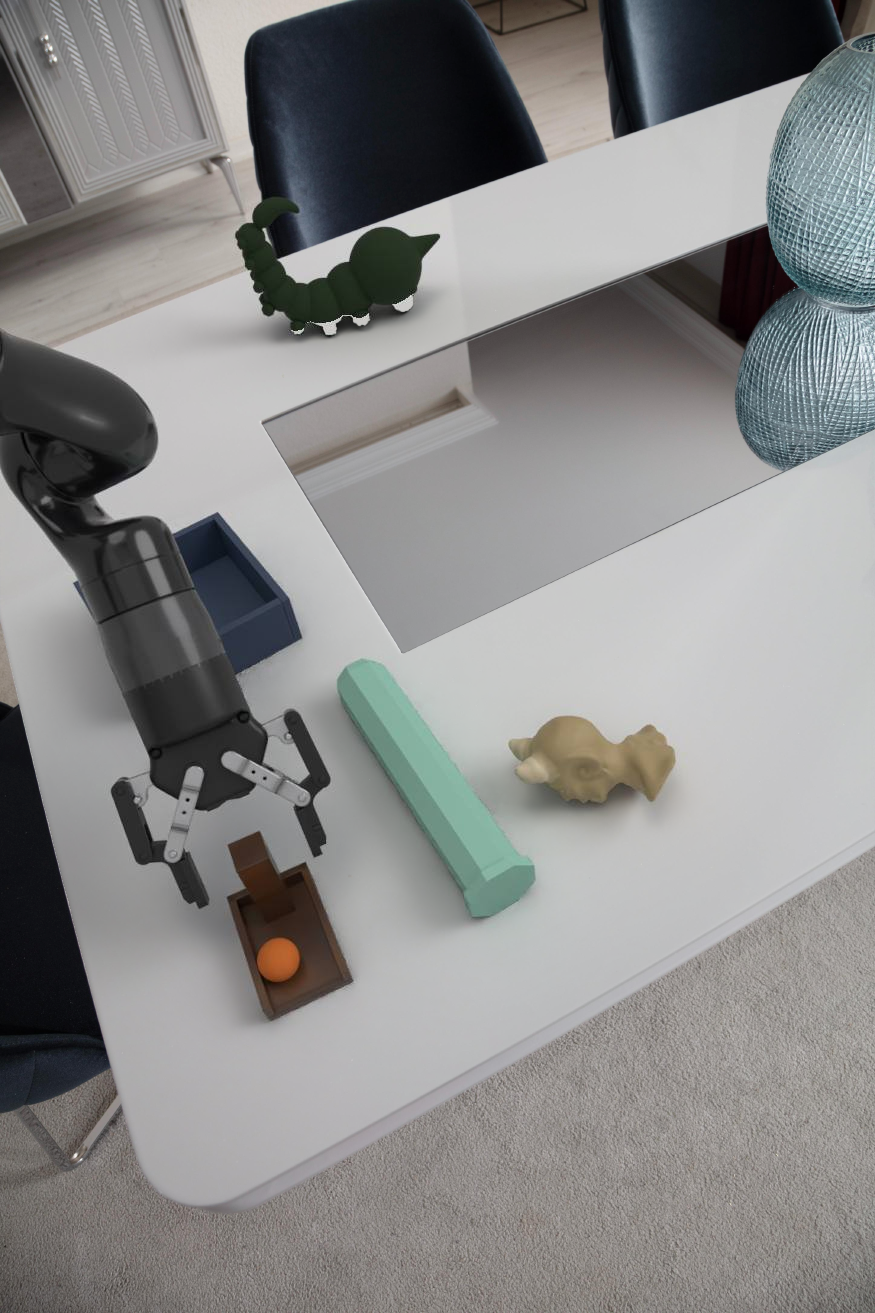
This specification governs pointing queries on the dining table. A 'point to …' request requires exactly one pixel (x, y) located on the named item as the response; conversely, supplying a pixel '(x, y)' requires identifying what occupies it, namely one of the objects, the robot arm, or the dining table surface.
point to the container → (435, 791)
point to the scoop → (284, 927)
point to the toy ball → (278, 959)
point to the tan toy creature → (592, 760)
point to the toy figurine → (333, 271)
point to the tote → (235, 593)
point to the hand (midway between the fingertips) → (262, 878)
